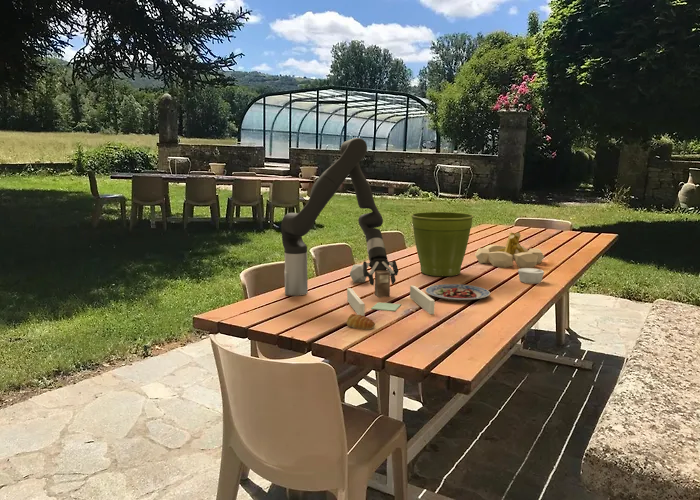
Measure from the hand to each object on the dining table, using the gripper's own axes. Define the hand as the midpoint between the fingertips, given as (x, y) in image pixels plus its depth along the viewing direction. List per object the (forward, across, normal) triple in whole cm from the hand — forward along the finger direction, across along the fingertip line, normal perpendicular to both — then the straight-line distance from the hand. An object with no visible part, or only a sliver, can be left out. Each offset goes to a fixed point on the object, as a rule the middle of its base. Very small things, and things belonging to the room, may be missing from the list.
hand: (383, 283), depth 220 cm
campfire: (-38, +86, +47) cm, 105 cm away
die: (-16, -4, +24) cm, 29 cm away
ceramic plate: (+7, +30, +1) cm, 31 cm away
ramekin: (-6, +73, +14) cm, 75 cm away
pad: (+15, -3, -8) cm, 18 cm away
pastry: (+31, -18, -23) cm, 42 cm away
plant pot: (-24, +39, +32) cm, 56 cm away
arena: (+15, -2, -8) cm, 18 cm away
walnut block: (+3, 0, +5) cm, 5 cm away
